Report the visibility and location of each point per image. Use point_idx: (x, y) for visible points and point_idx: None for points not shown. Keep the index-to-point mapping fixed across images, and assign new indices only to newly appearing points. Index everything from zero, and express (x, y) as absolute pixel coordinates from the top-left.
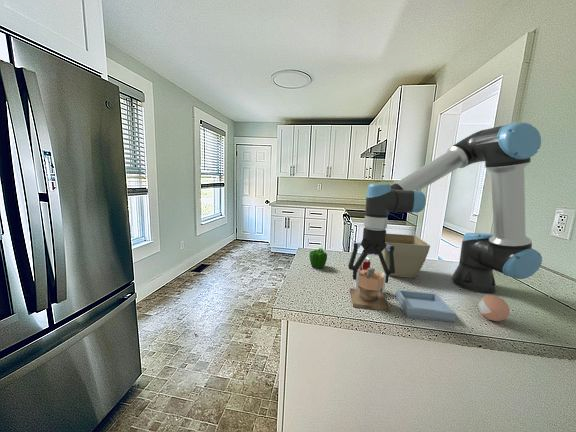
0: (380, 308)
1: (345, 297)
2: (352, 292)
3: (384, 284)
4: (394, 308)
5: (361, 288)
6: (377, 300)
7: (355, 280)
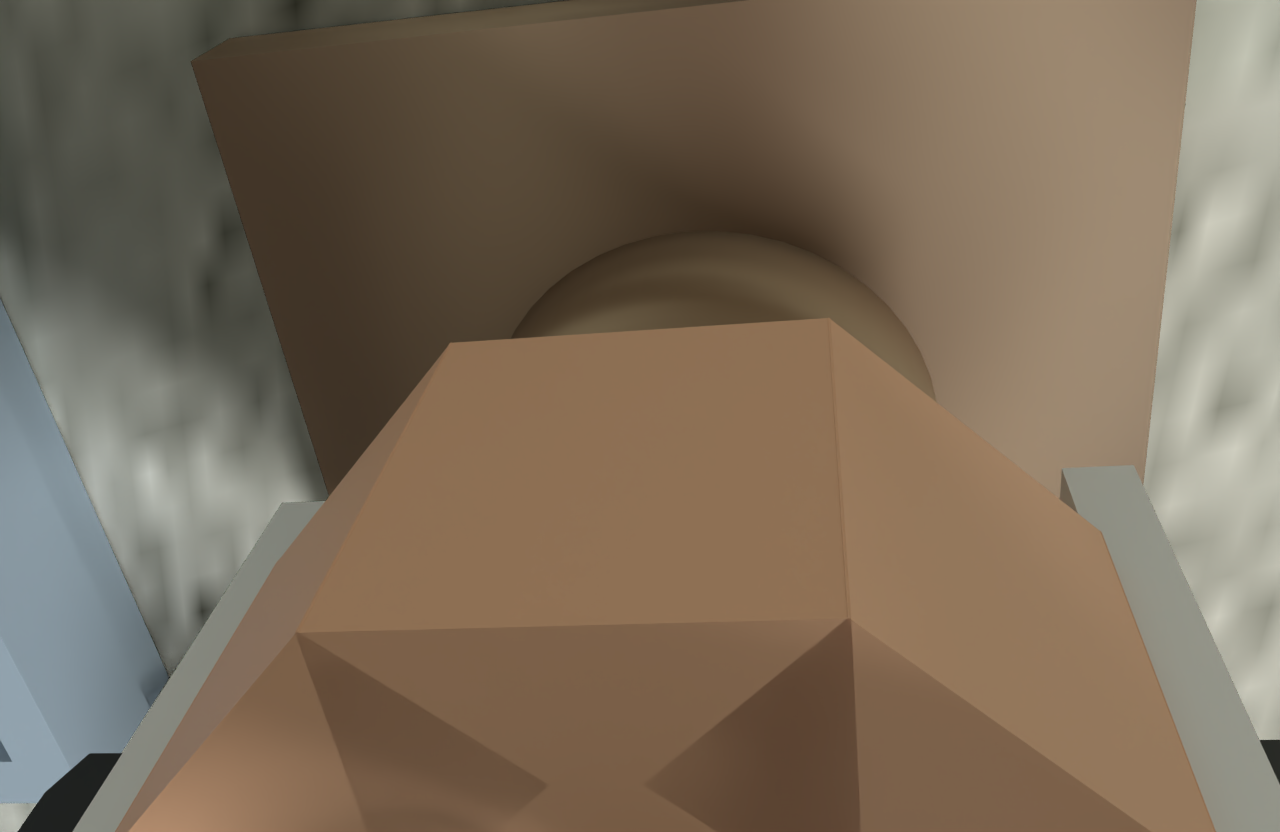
0: (424, 21)
1: (1274, 387)
2: None
3: (188, 674)
4: (135, 206)
5: None
6: None
7: None
